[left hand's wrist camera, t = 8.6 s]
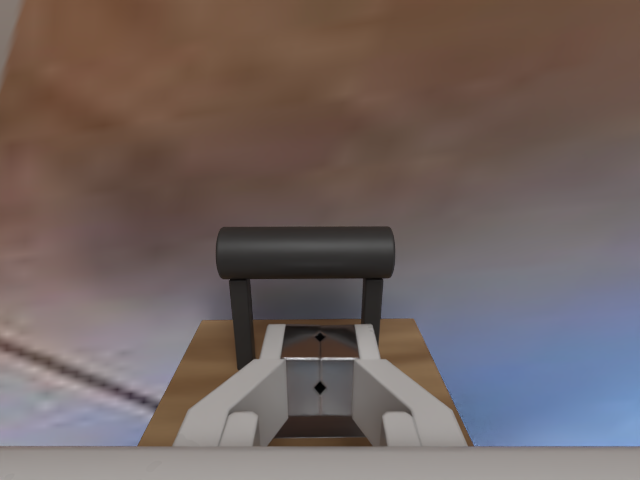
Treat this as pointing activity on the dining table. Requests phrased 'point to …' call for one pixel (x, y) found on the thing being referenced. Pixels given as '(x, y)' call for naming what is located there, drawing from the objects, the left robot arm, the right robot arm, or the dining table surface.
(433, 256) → the dining table surface
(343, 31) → the dining table surface
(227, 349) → the drawer
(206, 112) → the dining table surface
